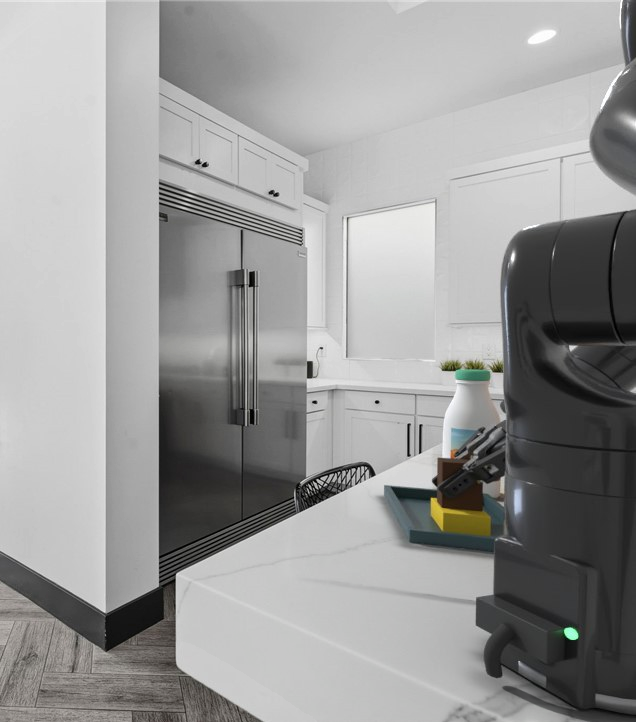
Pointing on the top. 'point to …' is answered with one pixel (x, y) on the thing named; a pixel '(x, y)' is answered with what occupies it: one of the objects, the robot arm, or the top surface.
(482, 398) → the milk bottle
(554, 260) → the robot arm
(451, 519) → the block on yellow base
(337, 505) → the top surface
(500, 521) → the tray
